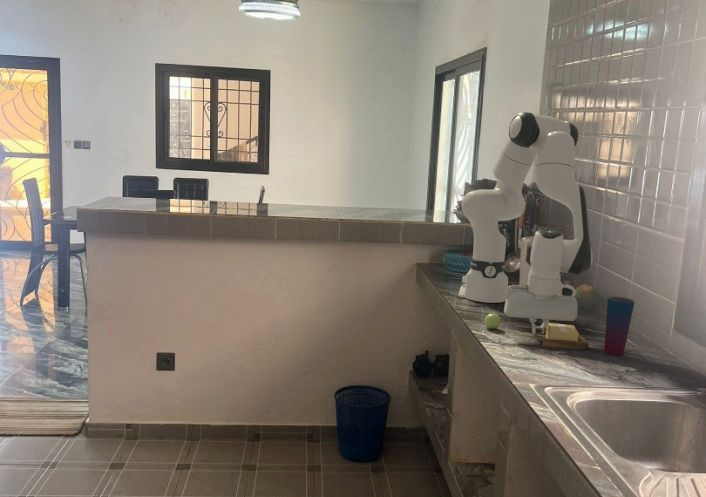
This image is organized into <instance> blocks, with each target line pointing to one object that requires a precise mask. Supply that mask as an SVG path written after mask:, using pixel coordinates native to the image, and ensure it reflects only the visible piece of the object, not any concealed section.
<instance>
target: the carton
mask: <svg viewBox="0 0 706 497" xmlns="http://www.w3.org/2000/svg"><path fill="white" fill-rule="evenodd" d="M579 334H580V333H579V330H578V329H576V327H575V325H573V324H566V323H565V324H562V323H555V322H554V323H553V322H549V324H548V325H547V327H546V333H545V339H553V340H567V341H578V336H579Z"/></svg>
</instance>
